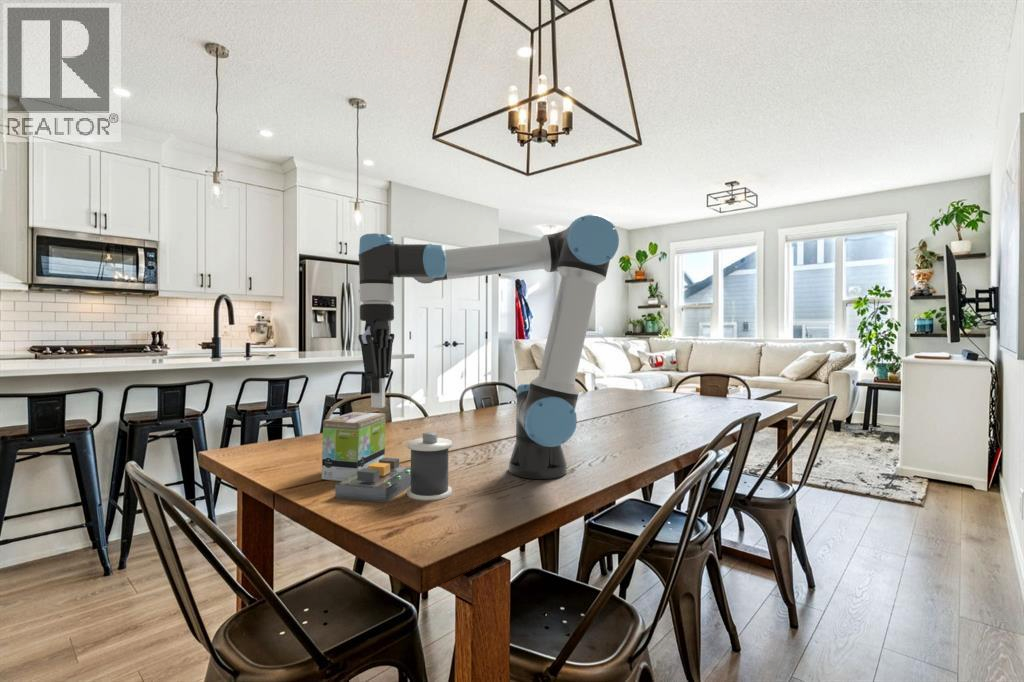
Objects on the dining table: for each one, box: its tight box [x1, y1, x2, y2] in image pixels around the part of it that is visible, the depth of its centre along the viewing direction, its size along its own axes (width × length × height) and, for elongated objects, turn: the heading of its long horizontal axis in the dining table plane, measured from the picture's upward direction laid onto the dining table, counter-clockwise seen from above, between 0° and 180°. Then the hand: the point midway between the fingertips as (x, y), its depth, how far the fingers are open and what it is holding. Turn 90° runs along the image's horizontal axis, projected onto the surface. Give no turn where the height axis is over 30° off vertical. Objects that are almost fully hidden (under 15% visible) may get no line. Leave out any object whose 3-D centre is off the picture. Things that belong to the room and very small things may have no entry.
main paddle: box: [368, 462, 390, 476], centre depth 120 cm, size 4×3×2 cm
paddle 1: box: [357, 468, 379, 482], centre depth 115 cm, size 4×3×2 cm, turn 77°
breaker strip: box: [334, 466, 411, 504], centre depth 120 cm, size 12×17×3 cm
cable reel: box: [406, 431, 453, 502], centre depth 117 cm, size 10×10×14 cm
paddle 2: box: [379, 457, 400, 470], centre depth 125 cm, size 4×3×2 cm, turn 77°
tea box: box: [321, 411, 387, 482], centre depth 132 cm, size 15×10×15 cm
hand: (378, 406), depth 118 cm, fingers closed
